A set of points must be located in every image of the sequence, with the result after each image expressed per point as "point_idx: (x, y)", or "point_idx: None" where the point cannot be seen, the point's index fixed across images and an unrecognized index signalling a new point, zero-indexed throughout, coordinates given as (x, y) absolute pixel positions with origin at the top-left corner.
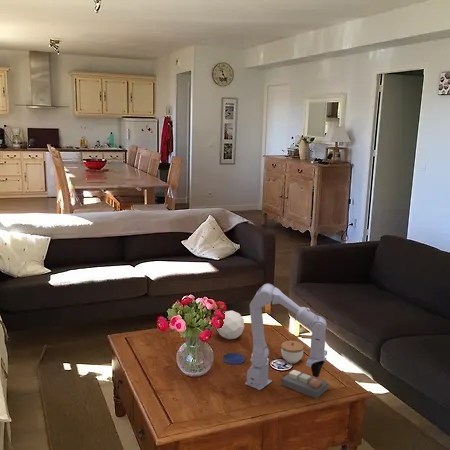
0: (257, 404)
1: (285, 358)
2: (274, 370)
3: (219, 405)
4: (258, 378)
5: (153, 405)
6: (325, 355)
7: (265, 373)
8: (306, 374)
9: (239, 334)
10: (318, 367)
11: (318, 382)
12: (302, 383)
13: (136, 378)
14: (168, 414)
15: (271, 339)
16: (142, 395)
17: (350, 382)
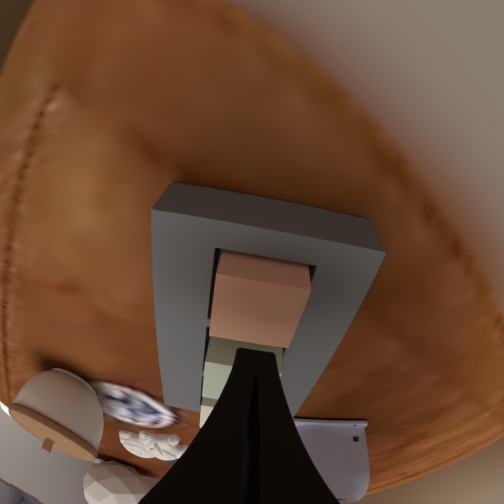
0: (459, 391)
1: (102, 417)
2: (186, 419)
3: (460, 428)
4: (368, 465)
5: (454, 460)
6: (14, 490)
7: (329, 471)
8: (204, 384)
9: (115, 473)
10: (337, 500)
11: (253, 292)
12: (291, 360)
13: (373, 491)
14: (483, 442)
15: None
16: (425, 474)
17: (4, 88)
